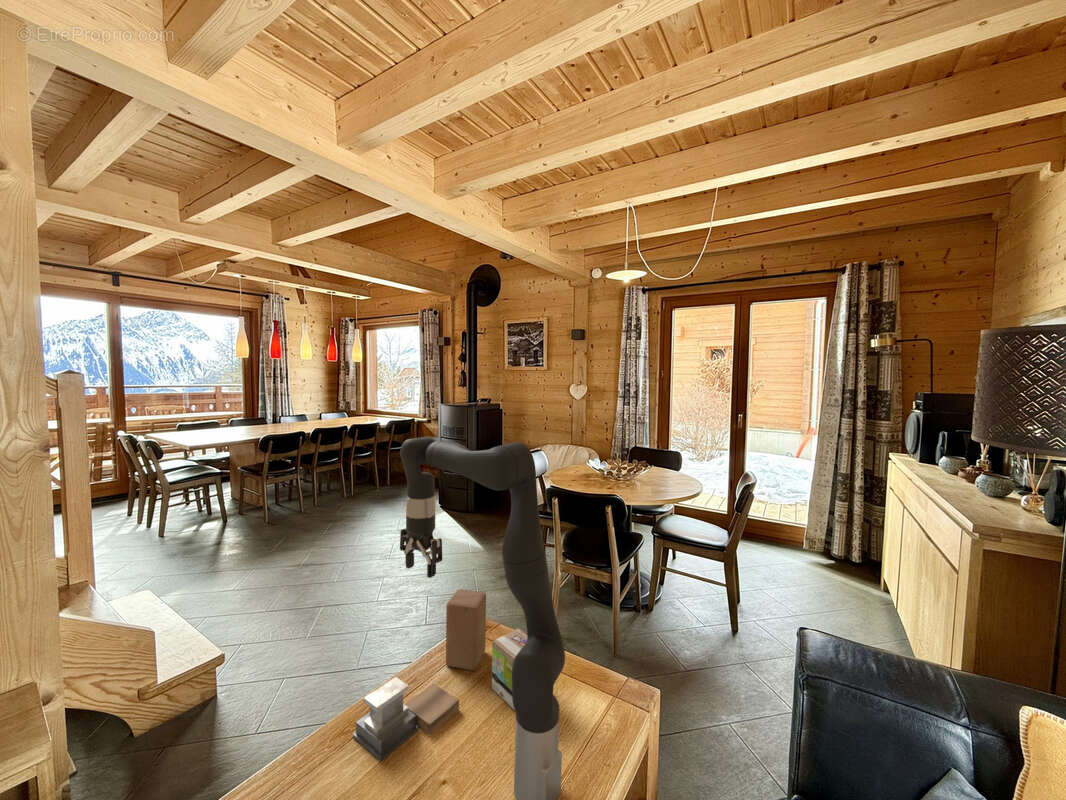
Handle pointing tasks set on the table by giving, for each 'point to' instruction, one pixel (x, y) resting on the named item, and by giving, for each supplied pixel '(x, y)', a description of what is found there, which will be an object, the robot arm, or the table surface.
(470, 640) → the wooden block
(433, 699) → the stand
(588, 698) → the table surface
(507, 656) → the tea box
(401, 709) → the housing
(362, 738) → the stand
